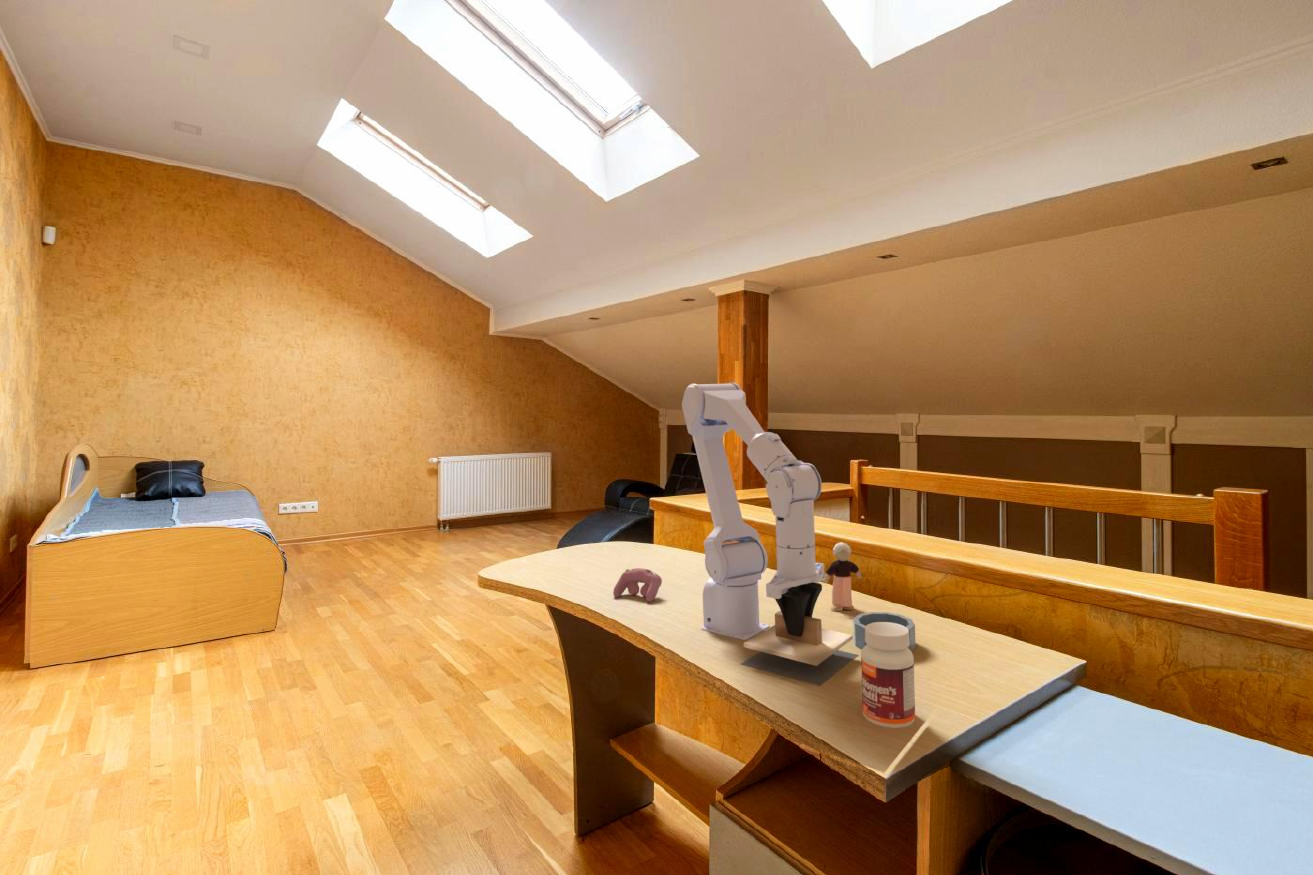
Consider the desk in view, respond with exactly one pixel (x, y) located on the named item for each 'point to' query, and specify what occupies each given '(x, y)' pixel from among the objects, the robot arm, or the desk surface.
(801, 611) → the robot arm
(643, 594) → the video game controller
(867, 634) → the pill bottle
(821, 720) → the desk surface
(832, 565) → the grandmother figurine
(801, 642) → the lid
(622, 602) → the desk surface
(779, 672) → the mat
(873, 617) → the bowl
